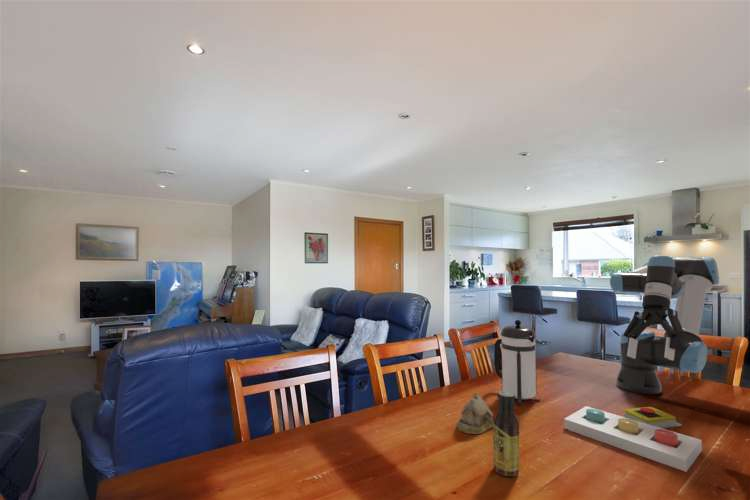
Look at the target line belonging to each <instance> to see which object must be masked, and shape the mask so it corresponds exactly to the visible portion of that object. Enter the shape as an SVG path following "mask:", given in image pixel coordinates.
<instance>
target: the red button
mask: <svg viewBox="0 0 750 500" xmlns="http://www.w3.org/2000/svg"><path fill="white" fill-rule="evenodd" d="M663 429H664V428H662V429H656V430H655V431H654V432H655V442H658V443H661V444H664V445H667V446H670V447H673V448H677V447H678V437H677V434H675V433H673V432H674V431H673V432H671V431H672V430H669V429H666V430H663ZM668 430H669V431H668Z"/></svg>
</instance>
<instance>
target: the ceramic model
mask: <svg viewBox="0 0 750 500" xmlns="http://www.w3.org/2000/svg"><path fill="white" fill-rule="evenodd" d="M460 414H461V417H459V418H458V420H457V422H456V427H457V429H458V430H459V431H460V432H462V431H463V433H466V434H470V435H471V434H472V435H479V434H483V433H486V431H488V430H490V429H492V428H493V423H494V420H493V418H494V415H495V414H494V412H493V411H492V410H491V409H490V406H489V405H488V404H487V403H486V402H485V400H484V399H483V398H482V397H481V396H480V394H479V393H473V395H472V398H471V399H470V400H469V401H467V402H466V403H465V404H464V406H463V408H462V409H461V411H460Z"/></svg>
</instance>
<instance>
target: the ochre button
mask: <svg viewBox="0 0 750 500" xmlns="http://www.w3.org/2000/svg"><path fill="white" fill-rule="evenodd" d="M618 430H621V431H624V432H627V433H630V434H633V435H636V436H637V435H638V434H639V424H638V423H637V422H636V421H634V420H631V419H626V418H620V419H618Z"/></svg>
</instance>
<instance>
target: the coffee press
mask: <svg viewBox="0 0 750 500" xmlns="http://www.w3.org/2000/svg"><path fill="white" fill-rule="evenodd" d="M514 324H515V325H506V326H504V327H503V328H502V330H501V331H500V336H501V338H499V339H497V340H496V341H495V343H494V348H493V351H494V352H493V353H494V355H493V357H494V370H495V373H496V375H497V376H498V377H499V378H500V379H501V384H502V388H501V389H500V390H499V392H500V391H510V392H513V393H514V394H515V399H517V405H519V406H522V405H523V403H522V401H523V400H529V399H532V398H534V399H535V400H536V401H537V402H539V401H540V400H541V396H540V395H539V393H538V391H537V390H538V389H537V387H538V386H537V384H538V383H537V362H536V357H537V345H536V338H537V333H536V332H535V331H534V329H532V328H531V327H529V326H526V325H525V326H524V325H521V324H522V321H521V320H519V319H516V320H514ZM500 345H501V346H500ZM500 347H501V350H500ZM500 351H501V355H500ZM500 356H501V369H500ZM536 395H537V397H538V398H536V397H535V396H536Z"/></svg>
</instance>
